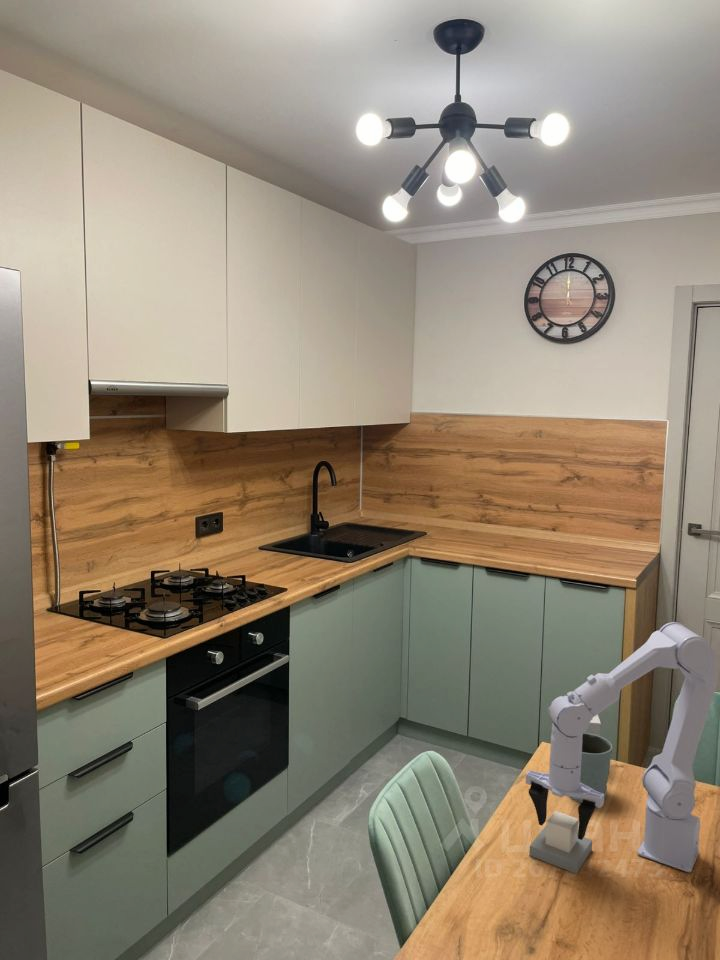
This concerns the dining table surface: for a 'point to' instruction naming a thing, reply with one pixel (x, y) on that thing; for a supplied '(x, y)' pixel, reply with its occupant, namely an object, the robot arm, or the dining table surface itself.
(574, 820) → the cream colored cube
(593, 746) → the teal cup
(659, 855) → the robot arm
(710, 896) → the dining table surface
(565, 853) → the stud block
